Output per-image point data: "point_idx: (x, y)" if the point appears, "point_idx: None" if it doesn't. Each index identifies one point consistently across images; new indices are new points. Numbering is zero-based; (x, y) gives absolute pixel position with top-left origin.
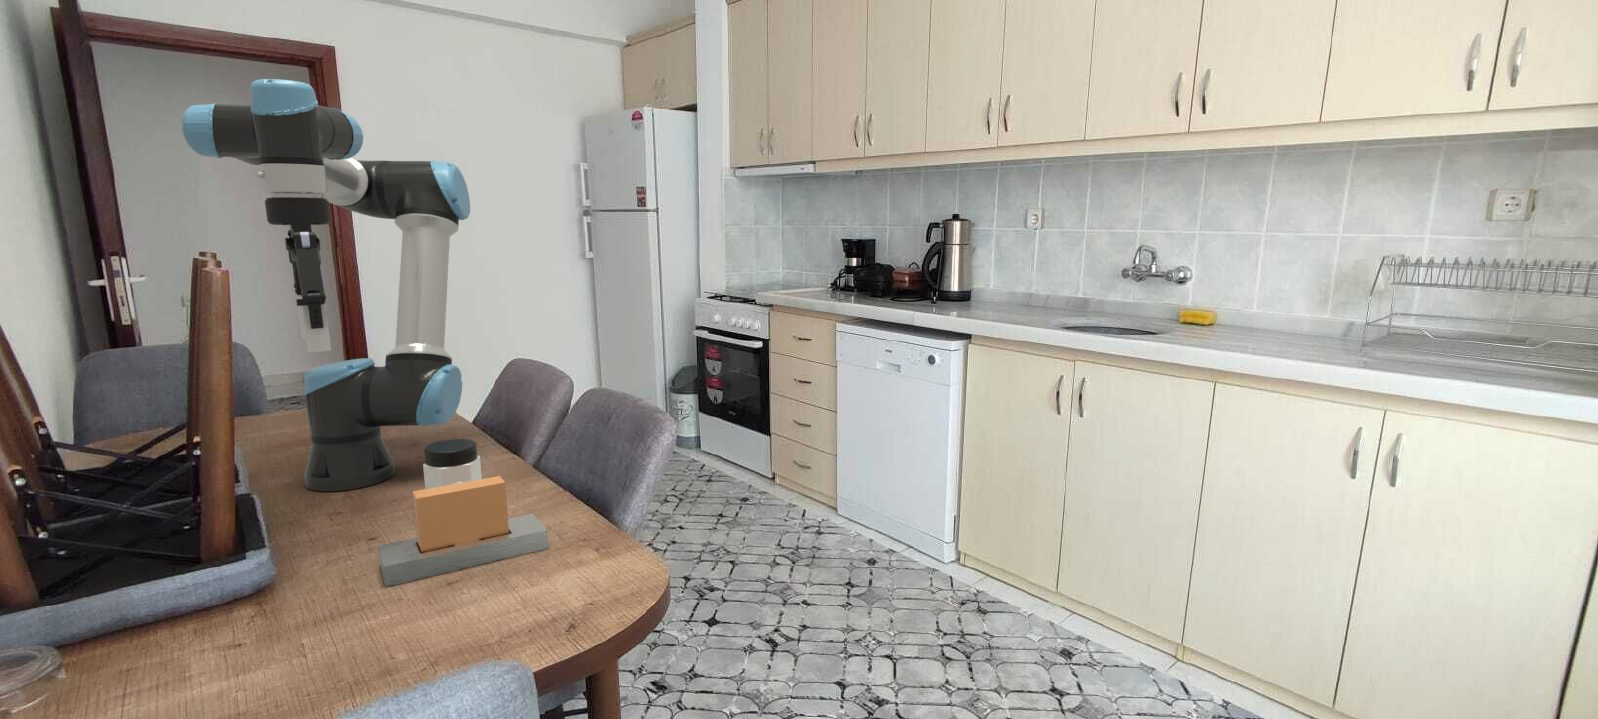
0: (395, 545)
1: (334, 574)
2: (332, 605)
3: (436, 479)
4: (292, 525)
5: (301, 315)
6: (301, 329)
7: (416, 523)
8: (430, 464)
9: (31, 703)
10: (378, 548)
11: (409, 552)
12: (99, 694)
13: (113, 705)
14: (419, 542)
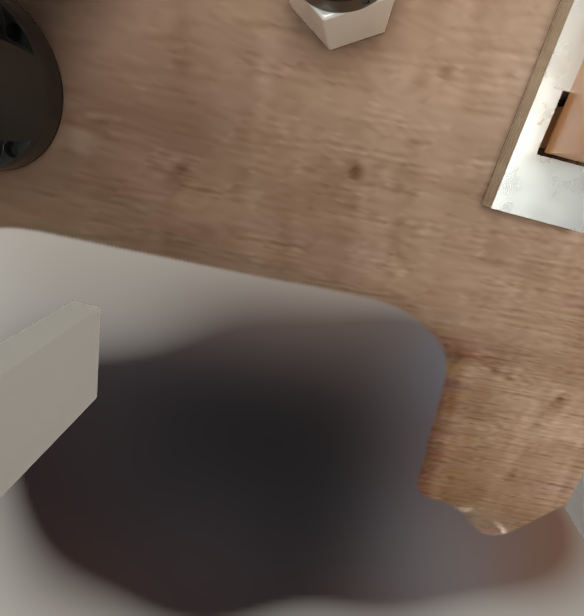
0: (516, 185)
1: (452, 263)
2: (557, 298)
3: (372, 13)
4: (189, 244)
5: (3, 479)
6: (65, 425)
7: (573, 155)
8: (358, 9)
9: (503, 531)
10: (500, 210)
11: (571, 180)
12: (542, 498)
13: None
14: (579, 160)
